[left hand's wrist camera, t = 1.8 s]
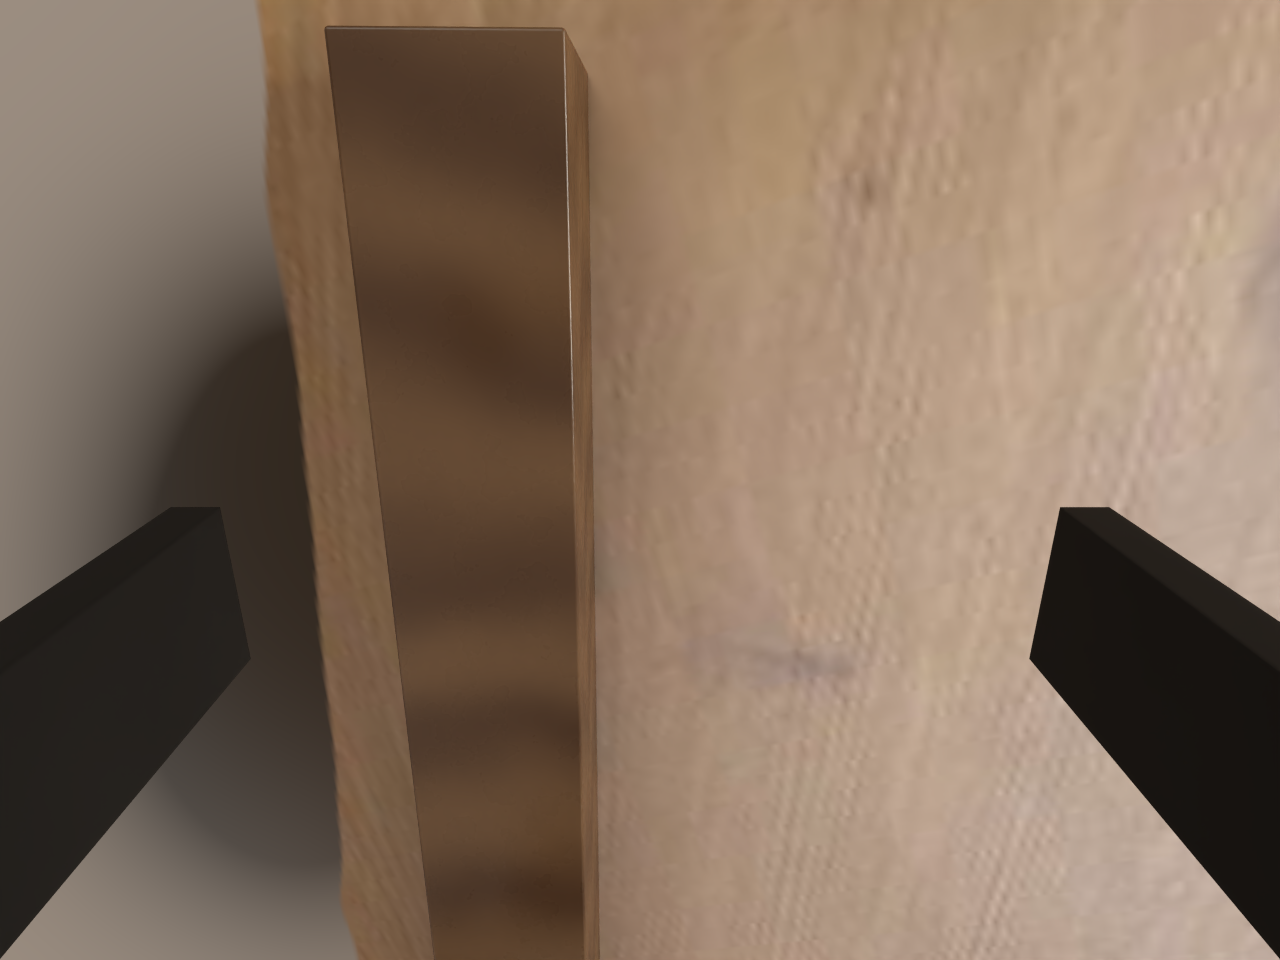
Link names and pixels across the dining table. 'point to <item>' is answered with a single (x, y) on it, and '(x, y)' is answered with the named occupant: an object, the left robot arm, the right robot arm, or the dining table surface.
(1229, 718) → the left robot arm
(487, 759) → the bar
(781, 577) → the dining table surface
